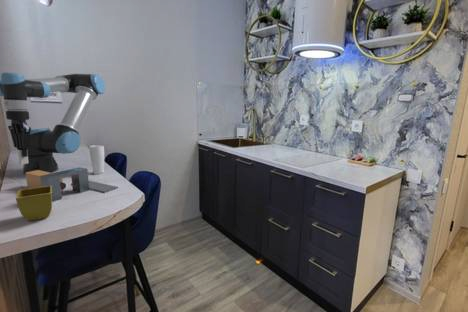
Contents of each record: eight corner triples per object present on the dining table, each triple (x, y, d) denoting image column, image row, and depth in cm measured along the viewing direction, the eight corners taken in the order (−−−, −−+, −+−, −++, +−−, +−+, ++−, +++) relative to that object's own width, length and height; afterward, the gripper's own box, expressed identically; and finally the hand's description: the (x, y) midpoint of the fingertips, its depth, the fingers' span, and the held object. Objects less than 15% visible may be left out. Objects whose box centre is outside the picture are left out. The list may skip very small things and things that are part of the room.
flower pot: (19, 225, 74) (15, 198, 73) (22, 215, 81) (18, 189, 80) (54, 218, 79) (51, 192, 78) (54, 209, 86) (51, 185, 85)
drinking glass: (108, 172, 134) (106, 146, 131) (96, 175, 128) (94, 147, 125) (101, 170, 137) (99, 144, 134) (89, 173, 131) (86, 146, 128)
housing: (43, 199, 94) (40, 175, 92) (81, 188, 108) (79, 167, 106) (51, 202, 92) (47, 177, 90) (89, 190, 106) (87, 168, 104)
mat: (71, 184, 112) (71, 183, 112) (85, 180, 119) (85, 179, 118) (104, 192, 104) (104, 191, 104) (118, 188, 110) (118, 186, 110)
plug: (27, 187, 107) (25, 172, 106) (40, 184, 112) (38, 170, 111) (57, 196, 99) (55, 179, 98) (69, 192, 104) (67, 176, 102)
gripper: (-2, 109, 104) (5, 163, 108) (14, 110, 99) (22, 166, 103) (19, 110, 111) (25, 160, 115) (35, 110, 106) (42, 163, 110)
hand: (24, 163), depth 109 cm, fingers closed
